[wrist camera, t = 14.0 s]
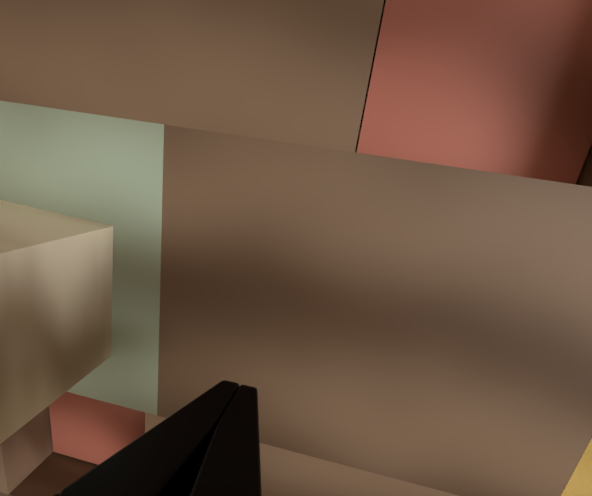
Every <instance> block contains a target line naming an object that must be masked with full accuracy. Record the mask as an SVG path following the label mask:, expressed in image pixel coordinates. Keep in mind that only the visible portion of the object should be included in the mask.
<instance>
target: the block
mask: <svg viewBox="0 0 592 496" xmlns="http://www.w3.org/2000/svg"><path fill="white" fill-rule="evenodd" d="M112 270H113V226H110V225H106V224H102V223H98V222H93V221H89V220H85V219H80V218H76V217H72V216H68V215H63V214H59V213H55V212H51V211H46V210H42V209H38V208H34V207H29V206H25V205H21V204H17V203H12V202H8V201H4V200H0V444H1V443H2V442H4V441H5V440H6V439H7V438H9V437H10V436H11V435H12V434H14V433H15V432H16V431H17V430H19V429H20V428H21V427H22V426H24V425H25V424H26V423H28V422H29V421H30V420H31V419H33V418H34V417H35V416H36V415H38V414H39V413H40V412H41V411H43V410H44V409H45V408H46V407H48V406H49V405H50V404H51V403H53V402H54V401H55V400H56V399H58V398H59V397H60V396H61V395H63V394H64V393H65V392H66V391H68V390H69V389H70V388H72V387H73V386H74V385H75V384H77V383H78V382H79V381H80V380H82V379H83V378H84V377H85V376H87V375H88V374H89V373H90V372H92V371H93V370H94V369H95V368H97V367H98V366H99V365H100V364H102V363H103V362H104V361H105V360H107V359H108V358H109V357H110V356H111V330H112Z"/></svg>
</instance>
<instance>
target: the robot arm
mask: <svg viewBox="0 0 592 496" xmlns="http://www.w3.org/2000/svg"><path fill="white" fill-rule="evenodd" d="M53 496H262V488H261V463H260V438H259V413H258V390H257V388H256V387H252V386H248V385H243V384H242V385H239V384H238V383H235V382H231V381H227V380H223V381H221V382H219V383H218V384H216V385H215V386H213V387H212V388H210V389H209V390H207V391H206V392H205V393H203V394H202V395H200V396H199V397H197V398H196V399H194V400H193V401H191V402H190V403H188V404H187V405H185V406H184V407H183V408H181V409H180V410H178V411H177V412H175V413H174V414H172V415H171V416H169V417H168V418H166V419H165V420H163V421H162V422H161V423H159V424H158V425H156V426H155V427H153V428H152V429H150V430H149V431H147V432H146V433H144V434H143V435H141V436H140V437H138V438H137V439H136V440H134V441H133V442H131V443H130V444H128V445H127V446H125V447H124V448H122V449H121V450H119V451H118V452H116V453H115V454H114V455H112V456H111V457H109V458H108V459H106V460H105V461H103V462H102V463H100V464H99V465H97V466H96V467H94V468H93V469H92V470H90V471H89V472H87V473H86V474H84V475H83V476H81V477H80V478H78V479H77V480H75V481H74V482H72V483H71V484H69V485H68V486H67V487H65V488H64V489H62V491H61V493H60V494H58V493H56V494H54V495H53Z"/></svg>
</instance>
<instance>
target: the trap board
mask: <svg viewBox="0 0 592 496" xmlns="http://www.w3.org/2000/svg"><path fill="white" fill-rule="evenodd" d="M383 3H384V0H0V200H4V201H8V202H12V203H17V204H21V205H25V206H29V207H34V208H38V209H42V210H46V211H51V212H55V213H59V214H63V215H68V216H72V217H76V218H80V219H85V220H89V221H93V222H98V223H102V224H106V225H110V226H113V270H112V330H111V356H110V357H109V358H108V359H107V360H105V361H104V362H103V363H102V364H100V365H99V366H98V367H97V368H95V369H94V370H93V371H92V372H90V373H89V374H88V375H87V376H85V377H84V378H83V379H82V380H80V381H79V382H78V383H77V384H75V385H74V386H73V387H72V388H70V389H69V390H68V391H66V392H65V393H64V394H63V395H61V396H60V397H59V398H58V399H56V400H55V401H54V402H53V403H51V404H50V405H49V406H48V407H46V408H45V409H44V410H43V411H41V412H40V413H39V414H38V415H36V416H35V417H34V418H33V419H31V420H30V421H29V422H28V423H26V424H25V425H24V426H22V427H21V428H20V429H19V430H17V431H16V432H15V433H14V434H12V435H11V436H10V437H9V438H7V439H6V440H5V441H4V442H2V443H1V444H0V496H53V495H54V494H56V493H58V494H60V493H61V491H62V489H64V488H65V487H67V486H68V485H69V484H71V483H72V482H74V481H75V480H77V479H78V478H80V477H81V476H83V475H84V474H86V473H87V472H89V471H90V470H92V469H93V468H94V467H96V466H97V465H99V464H100V463H102V462H103V461H105V460H106V459H108V458H109V457H111V456H112V455H114V454H115V453H116V452H118V451H119V450H121V449H122V448H124V447H125V446H127V445H128V444H130V443H131V442H133V441H134V440H136V439H137V438H138V437H140V436H141V435H143V434H144V433H146V432H147V431H149V430H150V429H152V428H153V427H155V426H156V425H158V424H159V423H161V422H162V421H163V420H165V419H166V418H168V417H169V416H171V415H172V414H174V413H175V412H177V411H178V410H180V409H181V408H183V407H184V406H185V405H187V404H188V403H190V402H191V401H193V400H194V399H196V398H197V397H199V396H200V395H202V394H203V393H205V392H206V391H207V390H209V389H210V388H212V387H213V386H215V385H216V384H218V383H219V382H221V381H223V380H227V381H231V382H235V383H238V384H239V385H242V384H243V385H248V386H252V387H256V388H257V390H258V413H259V438H260V463H261V488H262V496H561V494H562V493H563V491H564V489H565V487H566V485H567V483H568V481H569V479H570V478H571V476H572V474H573V472H574V470H575V468H576V466H577V464H578V463H579V461H580V459H581V457H582V455H583V453H584V451H585V449H586V448H587V446H588V444H589V442H590V440H591V438H592V0H386V1H385V6H384V12H383V17H382V22H381V27H380V32H379V38H378V43H377V48H376V53H375V58H374V63H373V69H372V74H371V79H370V84H369V89H368V94H367V100H366V105H365V110H364V115H363V120H362V125H361V131H360V136H359V141H358V146H357V151H356V152H355V149H356V144H357V139H358V134H359V128H360V123H361V118H362V113H363V107H364V102H365V97H366V92H367V87H368V81H369V76H370V71H371V66H372V61H373V55H374V50H375V45H376V40H377V35H378V29H379V24H380V19H381V14H382V9H383Z"/></svg>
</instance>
